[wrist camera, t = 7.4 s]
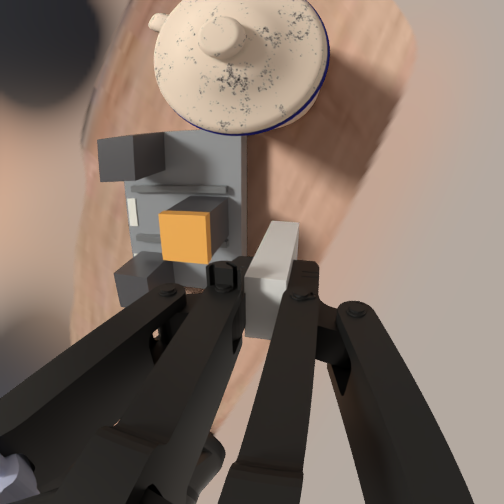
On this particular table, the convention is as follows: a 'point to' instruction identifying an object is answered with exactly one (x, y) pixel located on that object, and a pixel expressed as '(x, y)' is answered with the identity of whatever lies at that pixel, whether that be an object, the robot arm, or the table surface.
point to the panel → (173, 198)
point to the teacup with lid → (240, 62)
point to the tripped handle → (194, 229)
